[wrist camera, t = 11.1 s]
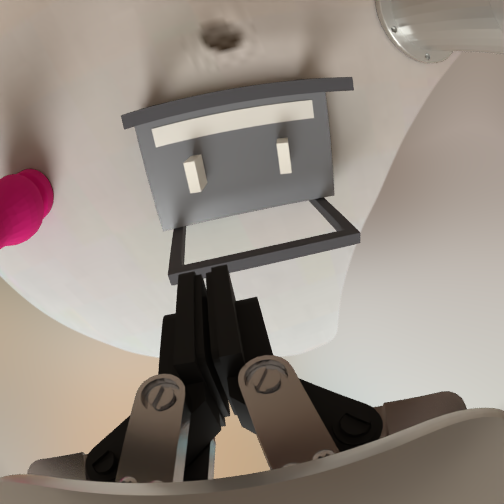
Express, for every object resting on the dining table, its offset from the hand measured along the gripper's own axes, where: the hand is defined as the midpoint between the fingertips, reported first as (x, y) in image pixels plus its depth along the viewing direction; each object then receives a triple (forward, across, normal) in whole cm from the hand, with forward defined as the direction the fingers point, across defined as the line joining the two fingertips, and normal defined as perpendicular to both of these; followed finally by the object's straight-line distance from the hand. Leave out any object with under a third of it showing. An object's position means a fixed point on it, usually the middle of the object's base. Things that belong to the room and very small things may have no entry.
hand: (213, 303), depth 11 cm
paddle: (+20, 0, 0) cm, 20 cm away
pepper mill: (+23, +20, -2) cm, 31 cm away
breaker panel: (+23, -3, 0) cm, 24 cm away
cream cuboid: (+20, -8, 0) cm, 21 cm away
